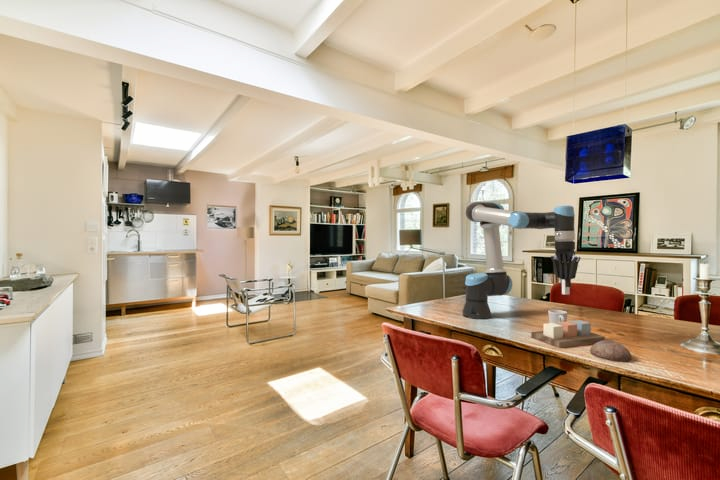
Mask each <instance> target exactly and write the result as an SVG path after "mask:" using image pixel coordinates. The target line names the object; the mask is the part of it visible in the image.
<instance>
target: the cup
mask: <svg viewBox="0 0 720 480" xmlns="http://www.w3.org/2000/svg"><path fill="white" fill-rule="evenodd" d="M547 311H548V320H549V321H548V323H555V324H557V322H568V314H569V313H568V312H567V311H566V310H561V309H549V310H547Z"/></svg>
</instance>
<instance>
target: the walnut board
mask: <svg viewBox="0 0 720 480" xmlns="http://www.w3.org/2000/svg"><path fill="white" fill-rule="evenodd" d="M530 334H531V336H530V337H531V338H532V339H534V340H538V341H540V342H543V343H545V344H548V345H550V346H553V347H555V348H558V349H561V348H569V347H570V348H571V347H577V346H585V345H586V346H587V345H594V344H595V343H597V342H599V341H603V340H606V336H605V335H602V334H597V333H594V332H591V334H589V335H579V334H577V336H572V337H567V336H564V335H563V338H555V339H553V338H550V337H548V336H545V335H543V330H537V331H531V333H530Z"/></svg>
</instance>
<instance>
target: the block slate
mask: <svg viewBox="0 0 720 480" xmlns="http://www.w3.org/2000/svg"><path fill="white" fill-rule="evenodd" d="M570 323H573V324H577V334H579V335H589V334H591V333H592V331H591V326H592V325H591V324H592V323H591V322H588V321H584V320H582V319H579V320H578V319H577V320H571V321H570Z"/></svg>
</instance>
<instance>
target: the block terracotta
mask: <svg viewBox="0 0 720 480" xmlns="http://www.w3.org/2000/svg"><path fill="white" fill-rule="evenodd" d="M557 324H558V325H561V326H563V335H564V336H567V337H572V336H577V324H573V323H571V321H570V322H569V321H567V322H557Z"/></svg>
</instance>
